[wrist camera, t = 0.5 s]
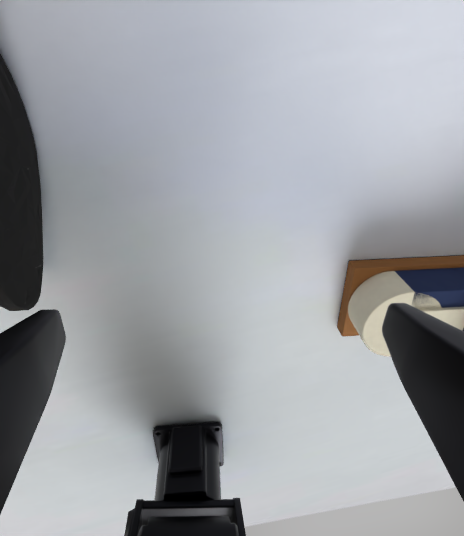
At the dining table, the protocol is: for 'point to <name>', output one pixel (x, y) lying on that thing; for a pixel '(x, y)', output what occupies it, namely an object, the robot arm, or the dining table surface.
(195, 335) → the dining table surface
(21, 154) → the cowboy boot
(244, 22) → the dining table surface
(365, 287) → the toy high-top shoe
